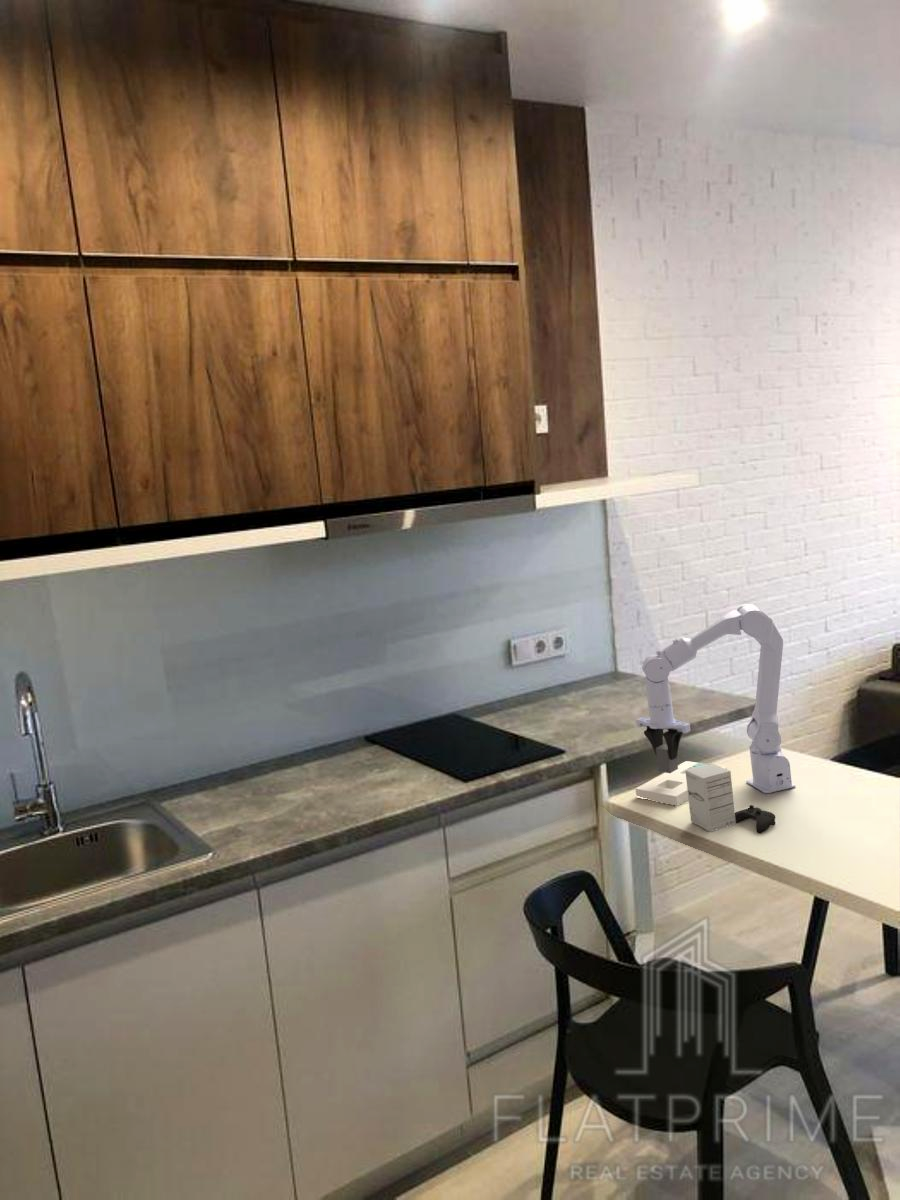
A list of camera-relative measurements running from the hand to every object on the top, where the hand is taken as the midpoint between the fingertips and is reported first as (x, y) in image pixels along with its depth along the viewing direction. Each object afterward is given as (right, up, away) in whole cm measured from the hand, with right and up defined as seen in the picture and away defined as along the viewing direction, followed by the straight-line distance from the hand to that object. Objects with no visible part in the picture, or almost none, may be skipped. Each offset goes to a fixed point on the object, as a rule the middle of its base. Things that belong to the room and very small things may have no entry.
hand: (666, 757), depth 228 cm
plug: (0, -3, 0) cm, 3 cm away
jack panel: (+5, -8, +4) cm, 11 cm away
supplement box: (+6, -12, -20) cm, 24 cm away
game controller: (+14, -11, -24) cm, 30 cm away
